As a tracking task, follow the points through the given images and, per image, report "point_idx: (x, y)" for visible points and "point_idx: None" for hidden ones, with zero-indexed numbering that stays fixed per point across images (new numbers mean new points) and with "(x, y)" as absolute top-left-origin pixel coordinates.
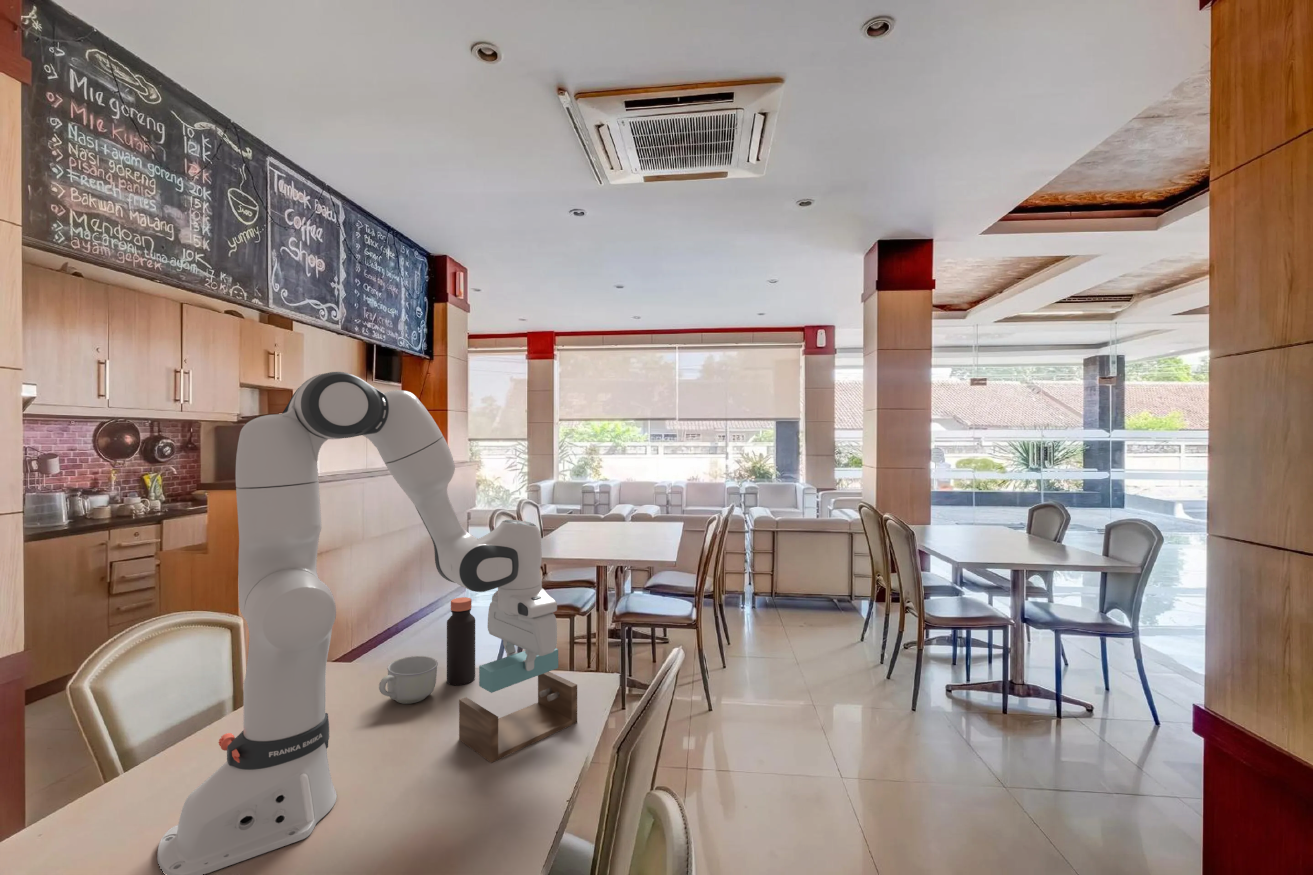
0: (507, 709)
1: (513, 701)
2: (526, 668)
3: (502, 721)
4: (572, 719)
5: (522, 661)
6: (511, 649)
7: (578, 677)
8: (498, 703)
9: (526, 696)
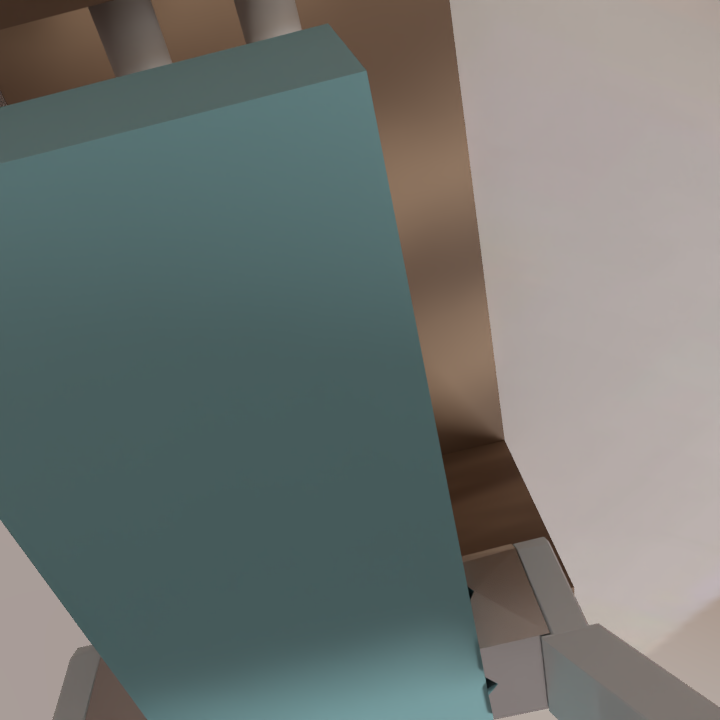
0: (589, 284)
1: (651, 339)
2: (77, 666)
3: (419, 206)
4: None
5: (145, 716)
6: (585, 714)
7: (628, 629)
8: (699, 261)
9: (648, 410)
